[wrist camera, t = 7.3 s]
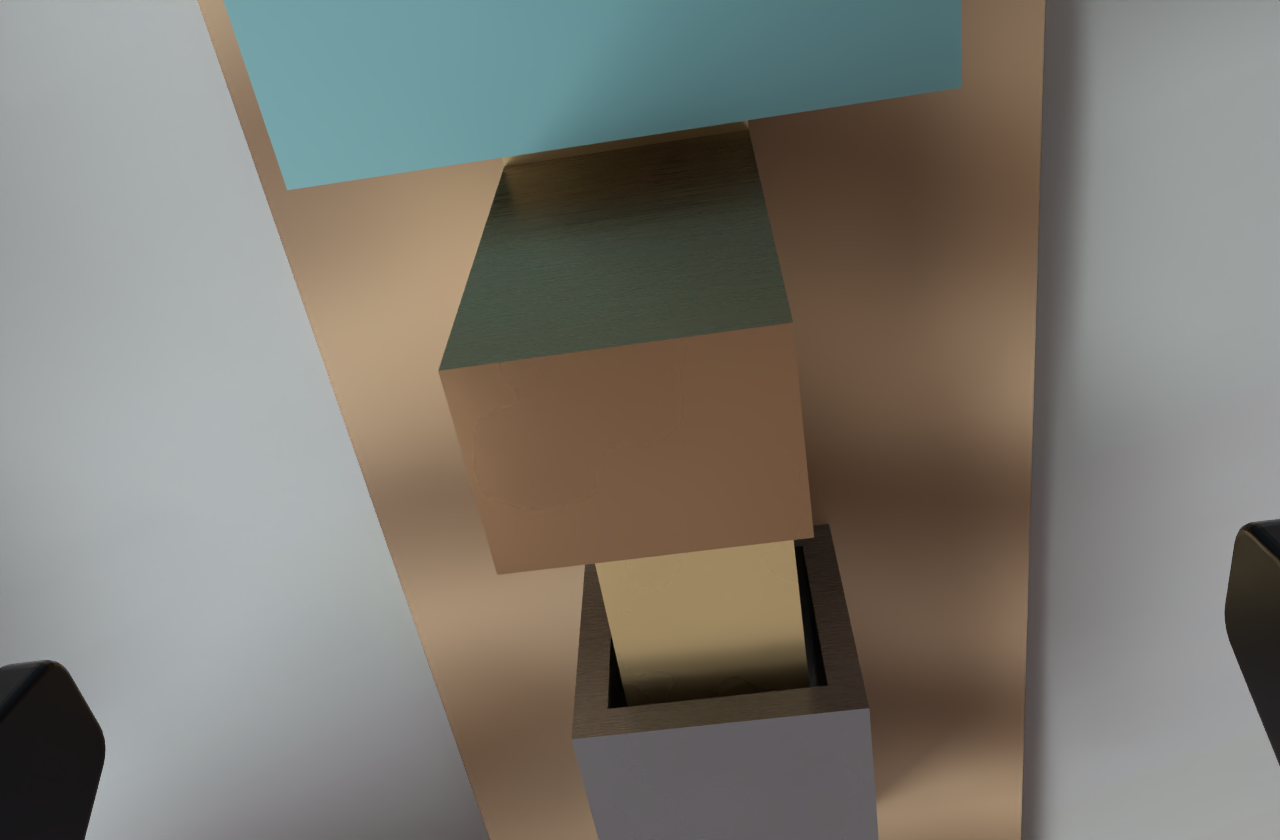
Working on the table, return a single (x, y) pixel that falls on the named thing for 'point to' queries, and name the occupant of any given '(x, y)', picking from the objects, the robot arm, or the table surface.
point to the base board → (831, 411)
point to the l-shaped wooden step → (642, 403)
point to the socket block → (563, 72)
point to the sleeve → (732, 737)
